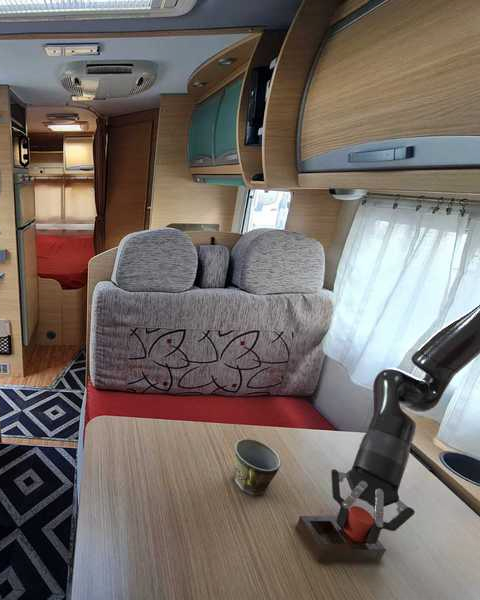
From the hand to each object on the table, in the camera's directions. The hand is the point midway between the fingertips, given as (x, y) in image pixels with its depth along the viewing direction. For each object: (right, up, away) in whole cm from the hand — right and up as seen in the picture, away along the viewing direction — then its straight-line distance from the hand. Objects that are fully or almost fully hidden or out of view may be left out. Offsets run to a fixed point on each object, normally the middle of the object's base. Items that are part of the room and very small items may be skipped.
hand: (354, 534), depth 66 cm
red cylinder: (+1, -4, +3) cm, 5 cm away
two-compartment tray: (-1, -4, +3) cm, 5 cm away
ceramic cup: (-14, 0, +16) cm, 21 cm away
